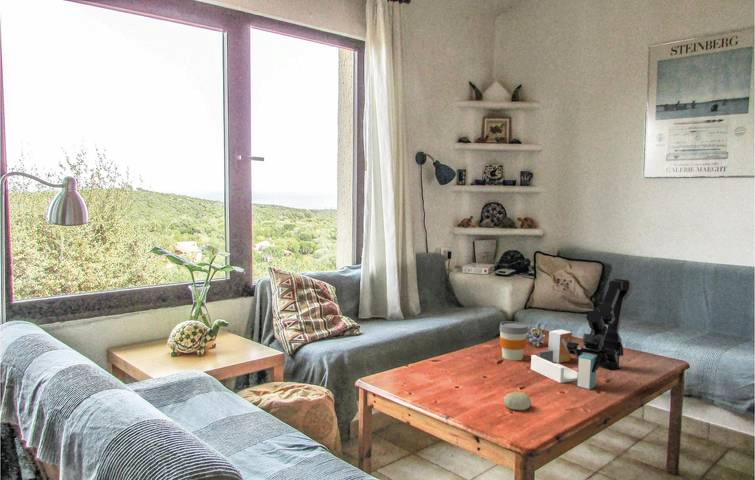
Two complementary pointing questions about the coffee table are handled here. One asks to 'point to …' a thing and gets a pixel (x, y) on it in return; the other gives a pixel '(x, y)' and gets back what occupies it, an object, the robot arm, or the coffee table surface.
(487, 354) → the coffee table surface
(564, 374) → the shelf
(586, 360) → the teal rectangular block
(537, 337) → the passion flower
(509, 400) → the sea urchin shell
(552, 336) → the small box
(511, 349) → the reusable coffee cup
